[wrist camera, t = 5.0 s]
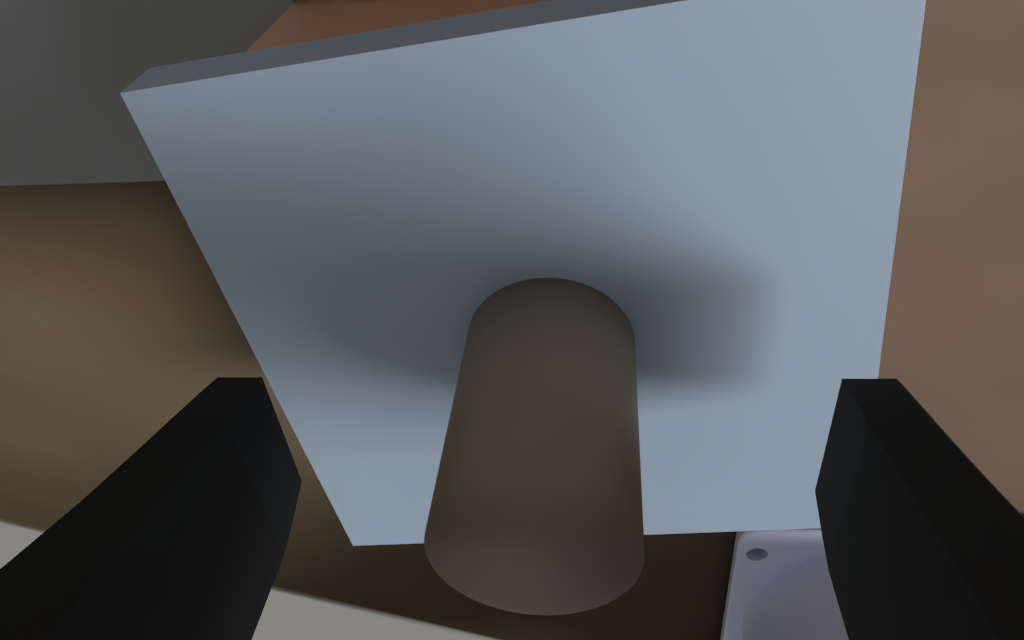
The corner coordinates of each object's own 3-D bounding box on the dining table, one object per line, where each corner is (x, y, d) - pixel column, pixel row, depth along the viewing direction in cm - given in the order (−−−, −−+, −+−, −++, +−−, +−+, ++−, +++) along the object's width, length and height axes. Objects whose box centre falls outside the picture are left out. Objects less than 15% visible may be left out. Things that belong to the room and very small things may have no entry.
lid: (847, 489, 14) (924, 745, 10) (363, 511, 15) (296, 738, 12) (907, -61, 8) (1109, 108, 5) (150, 67, 10) (-78, 257, 7)
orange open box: (759, 361, 17) (789, 492, 14) (392, 361, 18) (354, 484, 15) (819, -41, 12) (885, 42, 9) (304, -9, 13) (223, 74, 10)
